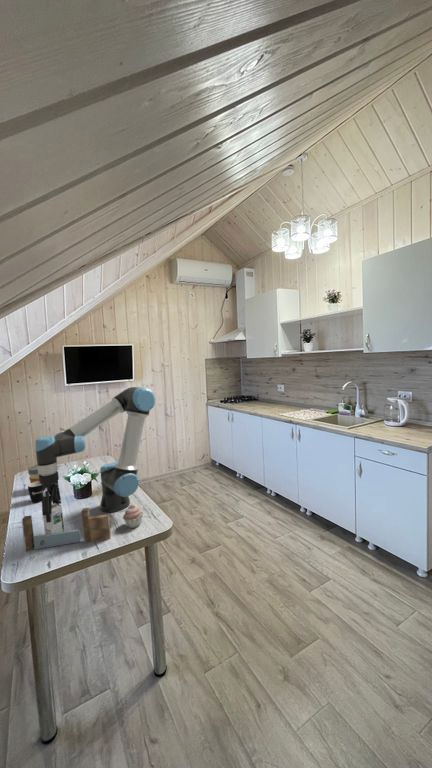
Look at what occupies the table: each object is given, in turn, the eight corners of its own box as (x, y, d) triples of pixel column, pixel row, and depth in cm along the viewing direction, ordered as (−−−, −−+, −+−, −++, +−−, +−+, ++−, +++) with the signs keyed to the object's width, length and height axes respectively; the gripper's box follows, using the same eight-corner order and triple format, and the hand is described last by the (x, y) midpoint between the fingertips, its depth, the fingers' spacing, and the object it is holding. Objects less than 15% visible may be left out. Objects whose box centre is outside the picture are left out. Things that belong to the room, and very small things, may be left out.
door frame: (111, 535, 140) (107, 505, 139) (110, 538, 137) (106, 507, 136) (28, 547, 135) (24, 516, 134) (26, 551, 132) (22, 519, 131)
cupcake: (125, 532, 142) (123, 511, 141) (122, 523, 150) (120, 502, 150) (145, 526, 146) (144, 505, 145) (142, 518, 154) (140, 498, 153)
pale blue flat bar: (80, 540, 137) (79, 529, 137) (79, 543, 135) (78, 531, 135) (35, 547, 134) (34, 536, 134) (33, 550, 132) (32, 538, 132)
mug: (29, 505, 178) (27, 488, 177) (30, 499, 186) (28, 483, 185) (53, 499, 184) (51, 482, 183) (53, 494, 192) (51, 478, 191)
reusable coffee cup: (57, 487, 202) (54, 464, 201) (37, 495, 192) (34, 471, 191) (46, 484, 209) (43, 462, 208) (26, 492, 199) (23, 468, 198)
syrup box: (53, 543, 135) (49, 510, 134) (45, 539, 138) (41, 507, 137) (65, 536, 140) (61, 504, 139) (57, 533, 143) (54, 502, 142)
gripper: (48, 466, 147) (53, 513, 148) (28, 482, 126) (35, 537, 128) (65, 464, 148) (70, 511, 149) (48, 480, 127) (54, 534, 129)
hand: (54, 523), depth 139 cm, fingers closed on syrup box, 8 cm apart
